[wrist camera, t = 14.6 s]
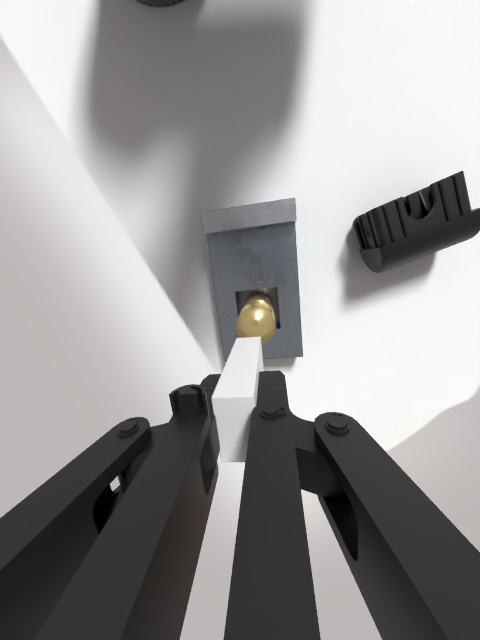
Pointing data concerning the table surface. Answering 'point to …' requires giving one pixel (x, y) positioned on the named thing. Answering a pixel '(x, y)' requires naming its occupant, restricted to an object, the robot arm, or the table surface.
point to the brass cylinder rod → (257, 318)
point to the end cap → (417, 224)
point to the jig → (256, 270)
